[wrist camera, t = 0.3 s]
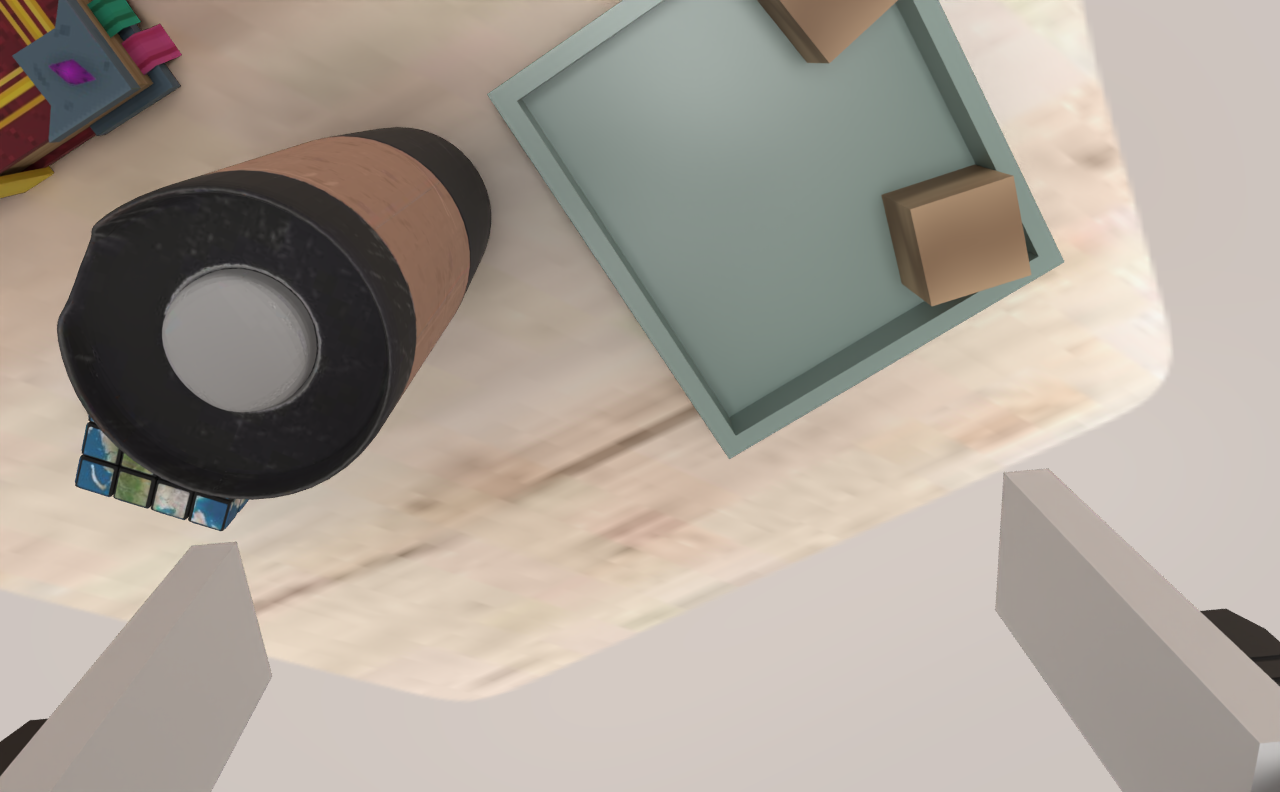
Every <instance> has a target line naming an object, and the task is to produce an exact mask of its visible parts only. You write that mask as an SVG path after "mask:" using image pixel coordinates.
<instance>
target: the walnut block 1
mask: <svg viewBox="0 0 1280 792" xmlns="http://www.w3.org/2000/svg"><path fill="white" fill-rule="evenodd" d="M757 1H758V2H759V3H760V5H761V6H762V7H763V8H764V10H765V11H766V12H767V13H768V15H769V16H770V17H771V18H772V19H773V21H774V22H775V23H776V24H777V26H778V27H779V28H780V29H781V31H782V32H783V33H784V34H785V36H786V37H787V38H788V39H789V41H790V42H791V43H792V44H793V46H794V47H795V48H796V49H797V51H798V52H799V53H800V54H801V56H802V57H803V58H804V59H805V61H806V62H807V63H830V62H832V61H833V60H834V59H835V58H836V57H837V56H838V55H839V54H840V53H841V52H842V51H843V50H845V49H846V48H847V47H848V46H849V45H850V44H851V43H852V42H853V41H854V40H855V39H857V38H858V37H859V36H860V35H861V34H862V33H863V32H864V31H865V30H866V29H867V28H868V27H870V26H871V25H872V24H873V23H874V22H875V21H876V20H877V19H878V18H879V17H880V16H881V15H883V14H884V13H885V12H886V11H887V10H888V9H889V8H890V7H891V6H892V5H893V4H894V3H896V2H897V1H898V0H757Z"/></svg>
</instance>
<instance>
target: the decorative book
mask: <svg viewBox="0 0 1280 792" xmlns="http://www.w3.org/2000/svg"><path fill="white" fill-rule="evenodd" d="M140 22H141V21H140V20H139V18H138V17H137V15H136V14H135V13H134V11H133V10H132V8H131V7H130V6H129V4H128V3H127V1H126V0H0V198H3V197H7V196H12V195H16V194H20V193H25V192H26V191H28V190H29V189H31V188H33V187H34V186H36V185H37V184H39V183H40V182H42V181H43V180H45V179H46V178H48V177H49V176H51V175H52V174H54V172H53V171H52V169H51V168H50V167H49V165H51V164H52V163H54V162H56V161H57V160H59V159H60V158H62V157H63V156H65V155H66V154H68V153H69V152H71V151H72V150H74V149H75V148H77V147H78V146H80V145H81V144H83V143H84V142H86V141H88V140H89V139H91V138H92V137H94V136H95V135H97V136H101V135H106V134H107V133H109V132H110V131H112V130H113V129H115V128H116V127H118V126H120V125H121V124H123V123H124V122H126V121H127V120H129V119H130V118H132V117H134V116H135V115H137V114H138V113H140V112H141V111H143V110H144V109H146V108H148V107H149V106H151V105H152V104H154V103H155V102H157V101H158V100H160V99H162V98H163V97H165V96H166V95H168V94H169V93H171V92H172V91H174V90H176V89H177V88H179V87H180V86H181V85H180V84H179V83H178V81H177V80H176V78H175V77H174V76H173V74H172V73H171V72H170V70H169V69H168V67H167V66H166V65H165V62H167V61H170V60H172V59H175V58H177V57H179V56H181V55H182V54H181V53H180V51H179V50H178V49H177V47H176V46H175V44H174V43H173V42H172V40H171V39H170V37H169V36H168V34H167V33H166V32H165V30H164V29H163V27H162V26H161V24H158V25H156V26H154V27H152V28H149V29H146V30H143V31H141V30H140V28H139V27H138V26H137V23H140Z"/></svg>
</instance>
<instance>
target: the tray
mask: <svg viewBox="0 0 1280 792" xmlns="http://www.w3.org/2000/svg"><path fill="white" fill-rule="evenodd" d="M487 95H488V96H489V98H490V100H491V101H492V103H493V104H494V106H495V107H496V109H497V110H498V112H499V113H500V115H501V116H502V118H503V119H504V121H505V122H506V124H507V125H508V127H509V128H510V130H511V131H512V133H513V134H514V136H515V137H516V139H517V140H518V142H519V143H520V145H521V146H522V148H523V149H524V151H525V152H526V154H527V155H528V157H529V158H530V160H531V161H532V163H533V164H534V166H535V167H536V169H537V170H538V172H539V173H540V175H541V176H542V178H543V179H544V181H545V182H546V184H547V185H548V187H549V188H550V190H551V191H552V193H553V194H554V196H555V197H556V199H557V200H558V202H559V203H560V205H561V206H562V208H563V209H564V211H565V212H566V214H567V215H568V217H569V218H570V220H571V222H572V223H573V225H574V226H575V228H576V229H577V231H578V232H579V234H580V235H581V237H582V238H583V240H584V241H585V243H586V244H587V246H588V247H589V249H590V250H591V252H592V253H593V255H594V256H595V258H596V259H597V261H598V262H599V264H600V265H601V267H602V268H603V270H604V271H605V273H606V274H607V276H608V277H609V279H610V280H611V282H612V283H613V285H614V286H615V288H616V289H617V291H618V292H619V294H620V295H621V297H622V298H623V300H624V301H625V303H626V304H627V306H628V307H629V309H630V310H631V312H632V313H633V315H634V316H635V318H636V319H637V321H638V322H639V324H640V325H641V327H642V328H643V330H644V331H645V333H646V334H647V336H648V337H649V339H650V340H651V342H652V344H653V345H654V347H655V348H656V350H657V351H658V353H659V354H660V356H661V357H662V359H663V360H664V362H665V363H666V365H667V366H668V368H669V369H670V371H671V372H672V374H673V375H674V377H675V378H676V380H677V381H678V383H679V384H680V386H681V387H682V389H683V390H684V392H685V393H686V395H687V396H688V398H689V399H690V401H691V402H692V404H693V405H694V407H695V408H696V410H697V411H698V413H699V414H700V416H701V417H702V419H703V420H704V422H705V423H706V425H707V426H708V428H709V429H710V431H711V432H712V434H713V435H714V437H715V438H716V440H717V441H718V443H719V444H720V446H721V447H722V449H723V450H724V452H725V453H726V455H727V456H728V458H729V459H731V458H732V457H734V456H736V455H737V454H739V453H741V452H742V451H744V450H746V449H748V448H749V447H751V446H753V445H754V444H756V443H758V442H759V441H761V440H763V439H765V438H766V437H768V436H770V435H771V434H773V433H775V432H776V431H778V430H780V429H782V428H783V427H785V426H787V425H788V424H790V423H792V422H793V421H795V420H797V419H799V418H800V417H802V416H804V415H805V414H807V413H809V412H810V411H812V410H814V409H816V408H817V407H819V406H821V405H822V404H824V403H826V402H827V401H829V400H831V399H833V398H834V397H836V396H838V395H839V394H841V393H843V392H844V391H846V390H848V389H850V388H851V387H853V386H855V385H856V384H858V383H860V382H861V381H863V380H865V379H867V378H868V377H870V376H872V375H873V374H875V373H877V372H878V371H880V370H882V369H884V368H885V367H887V366H889V365H890V364H892V363H894V362H895V361H897V360H899V359H901V358H902V357H904V356H906V355H907V354H909V353H911V352H912V351H914V350H916V349H918V348H919V347H921V346H923V345H924V344H926V343H928V342H929V341H931V340H933V339H935V338H936V337H938V336H940V335H941V334H943V333H945V332H946V331H948V330H950V329H952V328H953V327H955V326H957V325H958V324H960V323H962V322H963V321H965V320H967V319H969V318H970V317H972V316H974V315H975V314H977V313H979V312H981V311H982V310H984V309H986V308H987V307H989V306H991V305H992V304H994V303H996V302H998V301H999V300H1001V299H1003V298H1004V297H1006V296H1008V295H1009V294H1011V293H1013V292H1015V291H1016V290H1018V289H1020V288H1021V287H1023V286H1025V285H1026V284H1028V283H1030V282H1032V281H1033V280H1035V279H1037V278H1038V277H1040V276H1042V275H1043V274H1045V273H1047V272H1049V271H1050V270H1052V269H1054V268H1055V267H1057V266H1059V265H1060V264H1062V263H1064V260H1063V258H1062V256H1061V254H1060V252H1059V250H1058V248H1057V246H1056V243H1055V241H1054V239H1053V237H1052V235H1051V233H1050V231H1049V229H1048V227H1047V225H1046V223H1045V221H1044V219H1043V216H1042V214H1041V212H1040V210H1039V208H1038V206H1037V204H1036V202H1035V200H1034V198H1033V196H1032V194H1031V192H1030V189H1029V187H1028V185H1027V183H1026V181H1025V179H1024V177H1023V175H1022V173H1021V171H1020V169H1019V167H1018V165H1017V162H1016V160H1015V158H1014V156H1013V154H1012V152H1011V150H1010V148H1009V146H1008V144H1007V142H1006V140H1005V138H1004V135H1003V133H1002V131H1001V129H1000V127H999V125H998V123H997V121H996V119H995V117H994V115H993V113H992V111H991V108H990V106H989V104H988V102H987V100H986V98H985V96H984V94H983V92H982V90H981V88H980V86H979V84H978V82H977V79H976V77H975V75H974V73H973V71H972V69H971V67H970V65H969V63H968V61H967V59H966V57H965V55H964V52H963V50H962V48H961V46H960V44H959V42H958V40H957V38H956V36H955V34H954V32H953V30H952V28H951V25H950V23H949V21H948V19H947V17H946V15H945V13H944V11H943V9H942V7H941V5H940V3H939V1H938V0H898V1H897V2H896V3H894V4H893V5H892V6H891V7H890V8H889V9H888V10H887V11H886V12H885V13H884V14H883V15H881V16H880V17H879V18H878V19H877V20H876V21H875V22H874V23H873V24H872V25H871V26H870V27H868V28H867V29H866V30H865V31H864V32H863V33H862V34H861V35H860V36H859V37H858V38H857V39H855V40H854V41H853V42H852V43H851V44H850V45H849V46H848V47H847V48H846V49H845V50H843V51H842V52H841V53H840V54H839V55H838V56H837V57H836V58H835V59H834V60H833V61H832V62H830V63H807V62H806V61H805V59H804V58H803V57H802V56H801V54H800V53H799V52H798V51H797V49H796V48H795V47H794V46H793V44H792V43H791V42H790V41H789V39H788V38H787V37H786V36H785V34H784V33H783V32H782V31H781V29H780V28H779V27H778V26H777V24H776V23H775V22H774V21H773V19H772V18H771V17H770V16H769V15H768V13H767V12H766V11H765V10H764V8H763V7H762V6H761V5H760V3H759V2H758V1H757V0H622V1H621V2H620V3H618V4H617V5H615V6H614V7H612V8H611V9H609V10H608V11H607V12H605V13H604V14H602V15H601V16H599V17H598V18H597V19H595V20H594V21H592V22H591V23H589V24H588V25H586V26H585V27H584V28H582V29H581V30H579V31H578V32H576V33H575V34H573V35H572V36H571V37H569V38H568V39H566V40H565V41H563V42H562V43H560V44H559V45H558V46H556V47H555V48H553V49H552V50H550V51H549V52H547V53H546V54H545V55H543V56H542V57H540V58H539V59H537V60H536V61H534V62H533V63H532V64H530V65H529V66H527V67H526V68H524V69H523V70H522V71H520V72H519V73H517V74H516V75H514V76H513V77H511V78H510V79H509V80H507V81H506V82H504V83H503V84H501V85H500V86H498V87H497V88H496V89H494V90H493V91H491V92H490V93H488V94H487ZM971 165H978V166H981V167H985V168H988V169H992V170H995V171H999V172H1002V173H1006V174H1009V175H1012V176H1014V181H1015V187H1016V192H1017V198H1018V203H1019V209H1020V214H1021V220H1022V225H1023V231H1024V236H1025V242H1026V247H1027V253H1028V258H1029V264H1030V269H1031V275H1030V276H1027V277H1024V278H1020V279H1017V280H1014V281H1011V282H1008V283H1005V284H1001V285H998V286H995V287H992V288H989V289H986V290H982V291H979V292H976V293H973V294H970V295H967V296H964V297H960V298H957V299H954V300H951V301H948V302H945V303H941V304H938V305H935V306H930V305H929V304H928V303H927V302H925V301H924V300H923V299H921V298H920V297H919V296H917V295H916V294H915V293H913V292H912V291H911V290H910V289H908V288H907V287H906V286H904V285H903V284H902V282H901V278H900V274H899V269H898V265H897V261H896V256H895V252H894V248H893V243H892V239H891V235H890V230H889V226H888V222H887V217H886V213H885V209H884V204H883V200H882V196H881V195H883V194H886V193H889V192H892V191H895V190H898V189H901V188H904V187H907V186H910V185H913V184H916V183H919V182H922V181H925V180H929V179H932V178H935V177H938V176H941V175H944V174H947V173H950V172H953V171H956V170H959V169H962V168H965V167H968V166H971Z"/></svg>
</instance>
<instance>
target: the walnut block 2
mask: <svg viewBox="0 0 1280 792" xmlns="http://www.w3.org/2000/svg"><path fill="white" fill-rule="evenodd" d="M881 196H882V200H883V204H884V209H885V213H886V217H887V222H888V226H889V230H890V235H891V239H892V243H893V248H894V252H895V256H896V261H897V265H898V269H899V274H900V278H901V282H902V284H903V285H904V286H906V287H907V288H908V289H910V290H911V291H912V292H913V293H915V294H916V295H917V296H919V297H920V298H921V299H923V300H924V301H925V302H927V303H928V304H929V305H930V306H935V305H938V304H941V303H945V302H948V301H951V300H954V299H957V298H960V297H964V296H967V295H970V294H973V293H976V292H979V291H982V290H986V289H989V288H992V287H995V286H998V285H1001V284H1005V283H1008V282H1011V281H1014V280H1017V279H1020V278H1024V277H1027V276H1030V275H1031V269H1030V264H1029V258H1028V253H1027V247H1026V242H1025V236H1024V231H1023V225H1022V220H1021V214H1020V209H1019V203H1018V198H1017V192H1016V187H1015V181H1014V176H1012V175H1009V174H1006V173H1002V172H999V171H995V170H992V169H988V168H985V167H981V166H978V165H971V166H968V167H965V168H962V169H959V170H956V171H953V172H950V173H947V174H944V175H941V176H938V177H935V178H932V179H929V180H925V181H922V182H919V183H916V184H913V185H910V186H907V187H904V188H901V189H898V190H895V191H892V192H889V193H886V194H883V195H881Z"/></svg>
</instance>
